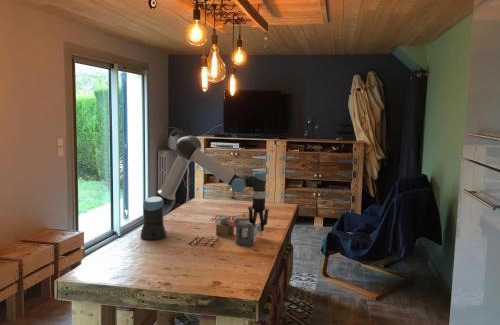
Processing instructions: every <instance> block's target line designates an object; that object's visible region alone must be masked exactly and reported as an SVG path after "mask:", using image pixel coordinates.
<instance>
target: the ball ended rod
mask: <svg viewBox="0 0 500 325" xmlns="http://www.w3.org/2000/svg"><path fill="white" fill-rule="evenodd" d="M219 223H220V224H223V225H230V226H233V227H234V228H236V224H238V223H239V218H235V217H234V218H233V220H232V219H231V217H230V216H221V217H220V220H219Z"/></svg>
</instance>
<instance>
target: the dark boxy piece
mask: <svg viewBox="0 0 500 325" xmlns="http://www.w3.org/2000/svg"><path fill="white" fill-rule="evenodd" d="M243 228H248V237H242V230H244V229H243ZM235 230H236V232H235V233H236V234H235V245H237V246H243V247H249V248H251V247H253V246H254V245H255V244H254V243H255V235H254V225H252V224H246V223H238V224H236V227H235Z"/></svg>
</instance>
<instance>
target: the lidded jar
mask: <svg viewBox="0 0 500 325" xmlns="http://www.w3.org/2000/svg"><path fill="white" fill-rule="evenodd" d="M234 218H239V223H246V224H251V223H249V215H248V214H244V213H243V214H238V215H236V216H235V217H234ZM243 230H244V228H243Z"/></svg>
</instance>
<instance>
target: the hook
mask: <svg viewBox="0 0 500 325" xmlns="http://www.w3.org/2000/svg"><path fill="white" fill-rule="evenodd" d="M260 225H261V223H260V222H257V223H255V225H254V234H255V233H256V234H257V233H259V230H260ZM242 237H248V228H244V229H243V230H242Z"/></svg>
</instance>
